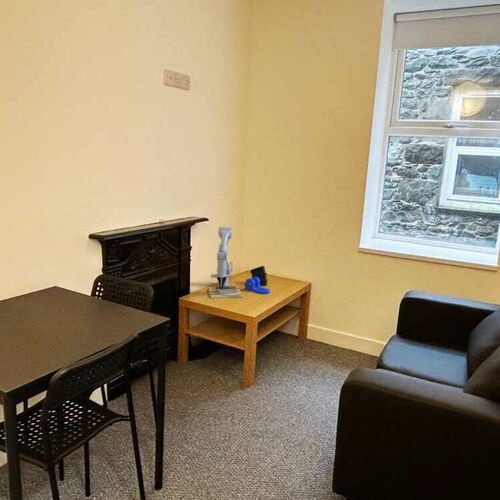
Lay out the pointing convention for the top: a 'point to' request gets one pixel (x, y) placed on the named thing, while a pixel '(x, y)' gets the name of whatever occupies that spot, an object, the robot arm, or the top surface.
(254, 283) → the bracket
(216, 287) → the retention strap
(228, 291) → the heat sink
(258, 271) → the black rectangular slab
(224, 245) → the robot arm
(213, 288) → the lugs
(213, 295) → the board
